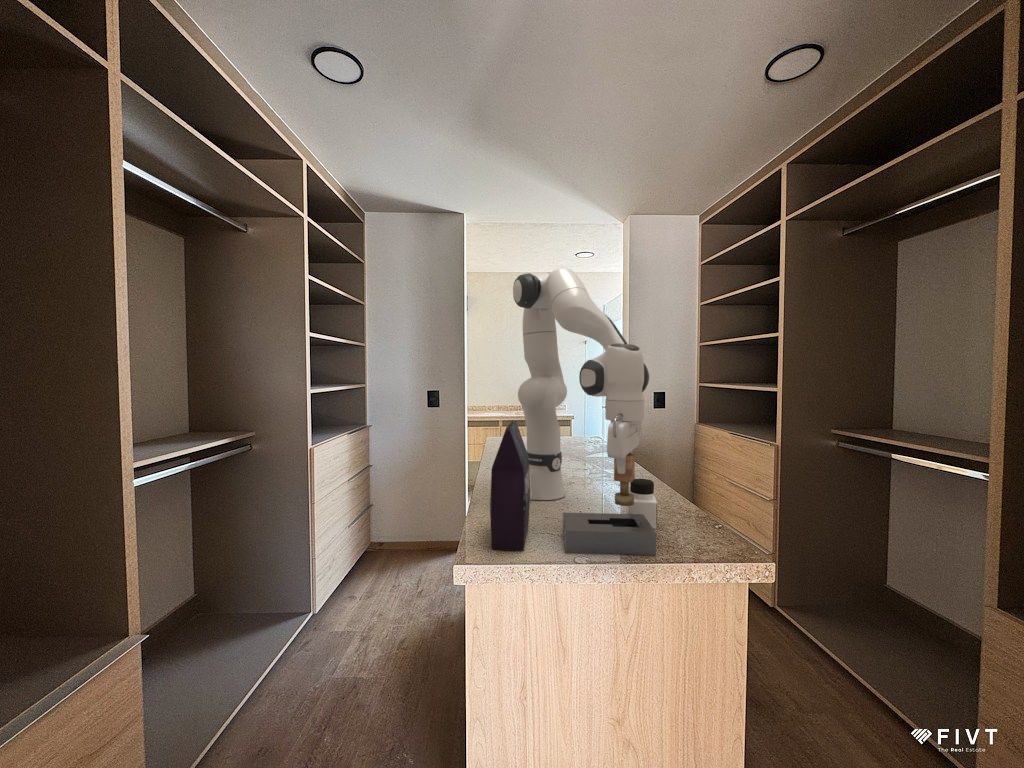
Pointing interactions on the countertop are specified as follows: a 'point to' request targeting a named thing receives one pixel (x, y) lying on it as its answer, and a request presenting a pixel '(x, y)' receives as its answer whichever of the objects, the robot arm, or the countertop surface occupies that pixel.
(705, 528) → the countertop surface
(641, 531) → the keyhole plate
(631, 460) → the slider
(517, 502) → the decorative box
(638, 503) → the medicine bottle
